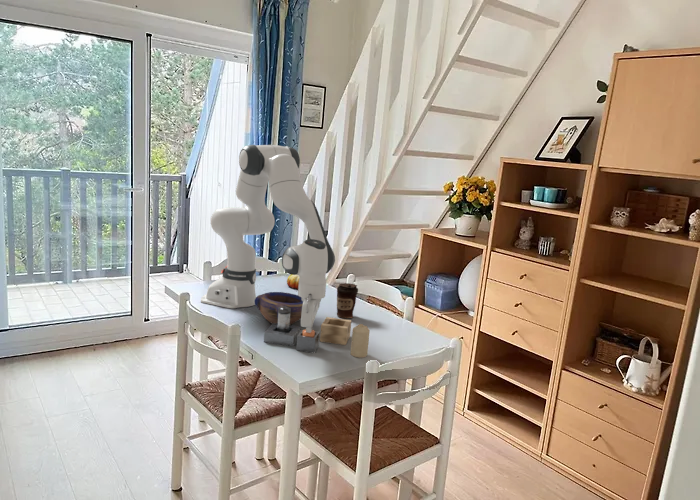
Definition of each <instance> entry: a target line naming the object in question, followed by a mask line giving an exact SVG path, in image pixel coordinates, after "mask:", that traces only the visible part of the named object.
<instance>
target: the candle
mask: <svg viewBox="0 0 700 500" xmlns="http://www.w3.org/2000/svg"><path fill="white" fill-rule="evenodd" d="M369 340H370V329H369V327H368V326H367V325H364V324H363V323H359V324H357V325H355V326H354V327H352V332H351V344H350V345H351V346H350V355H351V356H352V357H354V358H359V359H362V358H366V357H367V356H368V352H369V343H370V341H369Z"/></svg>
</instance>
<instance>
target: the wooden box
mask: <svg viewBox="0 0 700 500" xmlns="http://www.w3.org/2000/svg"><path fill="white" fill-rule="evenodd" d="M351 327H352V320H351V319H346V318H339V317H337V318H336V317H328V316H326V318H325V319H324V320H323V322H322V323H321V325H320V333H319V343H320V342H321V343H329V344H336V345H341V346H346V345H347V343H348V341H349V339H350V338H351V330H352V328H351Z"/></svg>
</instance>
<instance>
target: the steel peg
mask: <svg viewBox="0 0 700 500" xmlns="http://www.w3.org/2000/svg"><path fill="white" fill-rule="evenodd" d="M290 311H291V308H290V307H286V306H281V307H279V308H278V325H277V331H279V332H286V333H289V324H290Z"/></svg>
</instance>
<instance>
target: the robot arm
mask: <svg viewBox="0 0 700 500" xmlns="http://www.w3.org/2000/svg"><path fill="white" fill-rule="evenodd" d="M300 160H301V159H300V154H299V153H298V151H297V149H296V148H294V147H290V146H287V145H285V146H283V145H278V144H277V145H276V144H259V145H258V144H257V145H256V144H249V145H245V146H243V147H242V149H240V153H239V155H238V164H239V168H240V171H239V174H238V180H237V184H236V188H235V189H236V190H235V195H236V197H237V199H238V200H239V201H240V202H241V203H242V204H244V205H245V206H243V207H240V206H239V207H231V206H230V207H221V208H217V209H215V210H214V211H213V213H212V214H211V217H210V226H211V228H212V230H213V232H214V233H215V234H217V235H218V236H219V237H220V238H221V239H222V241H223V242H224V245H225V246H226V254H227V255H226V256H227V258H226V259H227V260H226V261H227V265H226V266H225V267H224V268H223V269H221V272H220V274H222V275H221V276H220V277H218V278H217V279H216V280H214V281H213V282H211V283H210V284H209V286H208V288H207V291H206V293H205V294H203V295H202V296H201V297H200V302H201V303H202V304H208V305H212V306H217V307H223V308H226V309H227V308H228V309H236V308H237V309H238V308H247V307H252V306H256V305H255V299H256V297H257V295H256V294H257V293H256V279H257V269H256V249H255V248H254V247H253V246H252V245H250V244H249V243H246V242H245V241H244V236H258V235H259V236H260V235H263V234H268V233H271V232H272V230H273V228H274V226H275V223H276V222H275V216H274V214H273V212H272V211H271V210H270V209H269V208H268V206H266V201H265V199H266V193H267V188H268V184H269V191H270V196H271V200H272V202H273V204H274V206H276V208H277V209H279V210H280V211H282V212H283V213H286V214H289V215H291V216H294V217H296V218H298V219H299V220H300V221H302V222H303V223H304V225H305V226H306V229H307V232H308V235H309V238H310V239H305V240H304V241H303V242H302V243H300V244H298V245H292V246H288V247H287V248H285V250H284V251H283V254H282V256H281V265H282V268H283V270H284V271H285V272H286V273H287V274H289V275H291V274H292V275H299V277H300V278H299V286H298V289H297V290H298V291H297V295H298V296H300V297H302V299H301V300H302V301H303V305H302V313H301V319H300V326H301V328H302V327H303V328H305V329H306V332H307V333H311V331H312V330H313V325H314V322H315V319H316V317H317V314H318V311H319V308H320V304H321V302H322V299H324V298H325V297H326V289H327V279H326V278H327V276H326V274H328V273H329V272H330V271H331V270H332V269H333V268H334V266H335V263H336V262H335V261H336V256H335V252H334V250H333V249H332V247H331V244H330V243H329V239H328V238H327V234H326V231H325V228H324V226H323V223H322V220H321V217H320V214H319V212H318V209H317V206H316V204H315V202H314V201H312V200H311V199H310V198H309V196H308V195H307V193H306V191H305V188H304V186H303V182H302V177H301V174H300V169H299V168H300V163H301V161H300Z"/></svg>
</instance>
